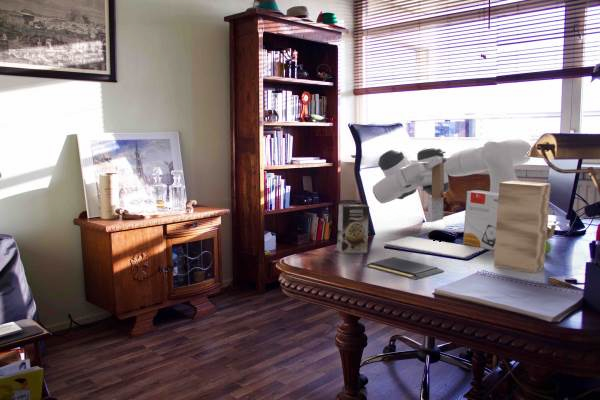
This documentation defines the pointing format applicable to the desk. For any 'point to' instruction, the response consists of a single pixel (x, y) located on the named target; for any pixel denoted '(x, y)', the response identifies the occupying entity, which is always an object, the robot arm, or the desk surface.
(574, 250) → the desk surface
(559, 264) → the desk surface
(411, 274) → the grey book
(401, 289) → the desk surface
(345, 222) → the cookie box
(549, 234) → the snail figurine
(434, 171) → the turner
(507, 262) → the stand
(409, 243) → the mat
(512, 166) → the robot arm
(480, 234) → the hard drive box
